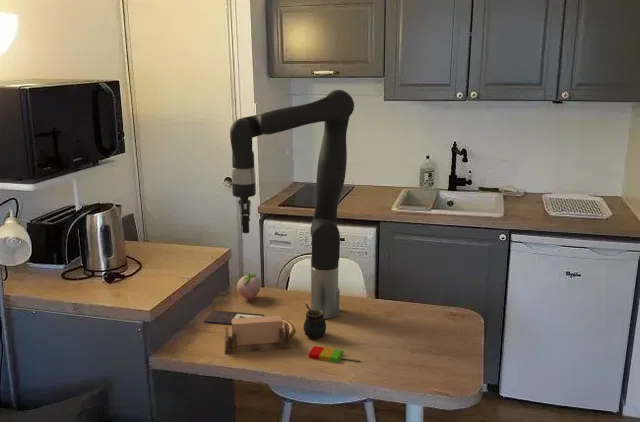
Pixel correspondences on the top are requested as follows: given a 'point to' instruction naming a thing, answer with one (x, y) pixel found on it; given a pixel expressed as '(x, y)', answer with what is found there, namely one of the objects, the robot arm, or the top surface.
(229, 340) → the rack
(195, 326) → the top surface
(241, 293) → the decorative fruit
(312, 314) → the mate gourd
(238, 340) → the tan rectangular block
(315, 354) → the popsicle
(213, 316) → the chocolate bar
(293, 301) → the top surface
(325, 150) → the robot arm
